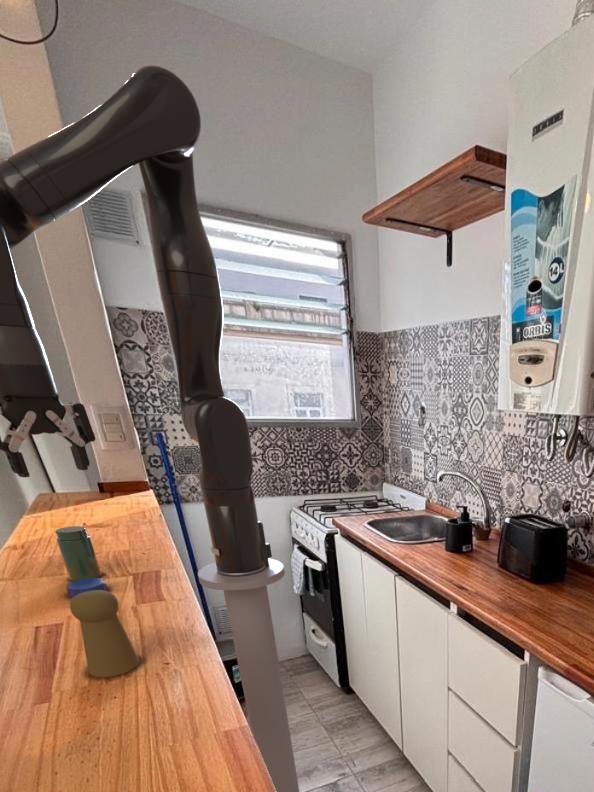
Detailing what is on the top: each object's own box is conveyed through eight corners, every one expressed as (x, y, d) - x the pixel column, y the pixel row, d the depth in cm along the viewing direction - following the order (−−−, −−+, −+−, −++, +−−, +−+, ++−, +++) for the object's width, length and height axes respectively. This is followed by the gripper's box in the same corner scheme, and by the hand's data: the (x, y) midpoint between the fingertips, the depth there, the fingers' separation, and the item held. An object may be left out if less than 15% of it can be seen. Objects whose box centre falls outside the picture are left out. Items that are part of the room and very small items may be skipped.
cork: (149, 659, 75) (129, 588, 70) (114, 680, 69) (89, 604, 64) (114, 653, 76) (92, 583, 71) (77, 673, 70) (50, 599, 65)
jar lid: (63, 599, 92) (59, 589, 91) (77, 587, 97) (74, 578, 96) (100, 597, 93) (97, 588, 93) (112, 586, 98) (109, 577, 98)
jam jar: (92, 570, 106) (77, 524, 101) (107, 575, 103) (92, 528, 99) (64, 578, 101) (47, 529, 97) (79, 583, 99) (62, 534, 95)
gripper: (57, 362, 85) (88, 465, 92) (-56, 359, 73) (-10, 476, 81) (82, 363, 82) (112, 470, 89) (-32, 360, 70) (14, 482, 78)
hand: (54, 473), depth 85 cm, fingers open, 8 cm apart
